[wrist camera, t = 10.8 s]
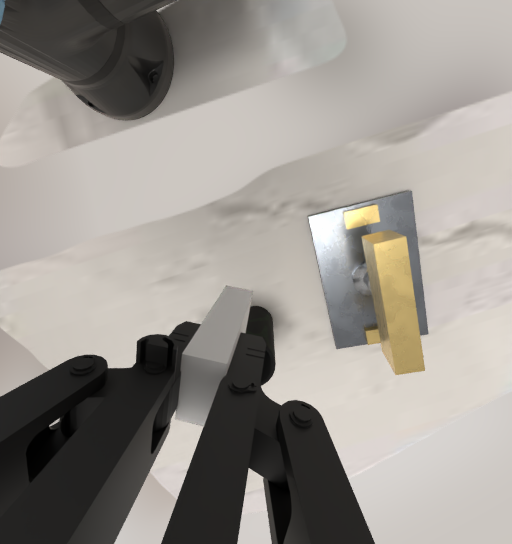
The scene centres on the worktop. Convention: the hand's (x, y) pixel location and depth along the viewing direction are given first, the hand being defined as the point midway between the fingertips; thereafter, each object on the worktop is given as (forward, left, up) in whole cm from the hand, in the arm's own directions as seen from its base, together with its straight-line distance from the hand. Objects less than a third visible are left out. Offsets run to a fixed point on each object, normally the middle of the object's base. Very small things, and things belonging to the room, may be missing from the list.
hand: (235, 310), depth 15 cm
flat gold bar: (+10, +13, -22) cm, 27 cm away
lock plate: (+10, +13, -28) cm, 33 cm away
